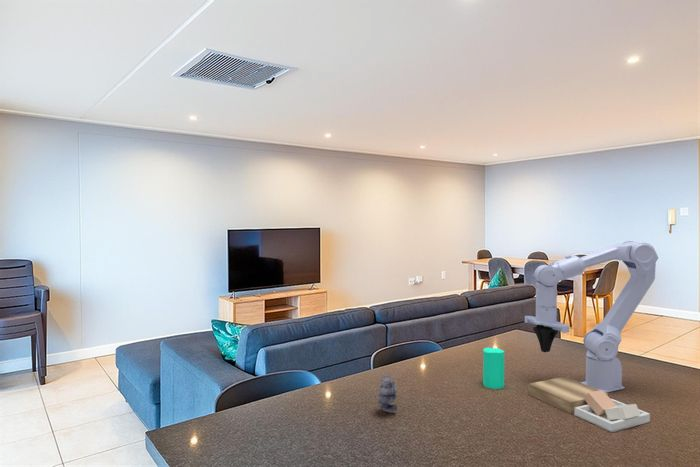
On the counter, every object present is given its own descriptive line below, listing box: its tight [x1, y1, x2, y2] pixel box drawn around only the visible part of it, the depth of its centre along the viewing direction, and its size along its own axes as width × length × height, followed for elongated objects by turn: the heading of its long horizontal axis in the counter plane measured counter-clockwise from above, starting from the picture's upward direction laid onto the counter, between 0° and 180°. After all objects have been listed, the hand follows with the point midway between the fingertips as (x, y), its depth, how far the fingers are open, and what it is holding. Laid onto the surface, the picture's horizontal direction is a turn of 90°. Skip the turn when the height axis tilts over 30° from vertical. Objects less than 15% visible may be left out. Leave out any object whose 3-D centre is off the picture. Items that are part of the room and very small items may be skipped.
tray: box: [574, 398, 651, 433], centre depth 111 cm, size 14×10×2 cm
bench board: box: [527, 376, 610, 415], centre depth 123 cm, size 14×14×3 cm
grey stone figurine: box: [376, 374, 398, 413], centre depth 115 cm, size 5×5×10 cm
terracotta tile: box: [584, 390, 617, 416], centre depth 114 cm, size 5×5×2 cm
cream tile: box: [605, 403, 640, 420], centre depth 109 cm, size 5×5×2 cm
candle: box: [482, 347, 505, 390], centre depth 134 cm, size 6×6×12 cm
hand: (545, 351), depth 134 cm, fingers closed
